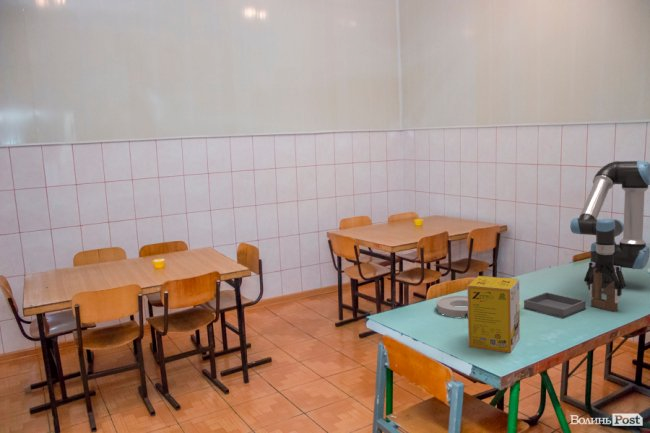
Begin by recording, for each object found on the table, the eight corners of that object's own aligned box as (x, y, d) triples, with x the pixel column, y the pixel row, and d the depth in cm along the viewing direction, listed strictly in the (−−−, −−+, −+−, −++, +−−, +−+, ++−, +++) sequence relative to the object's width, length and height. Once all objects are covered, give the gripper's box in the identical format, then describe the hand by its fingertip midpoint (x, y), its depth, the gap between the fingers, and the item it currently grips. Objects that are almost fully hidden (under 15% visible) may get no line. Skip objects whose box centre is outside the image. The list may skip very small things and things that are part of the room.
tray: (546, 300, 270) (546, 292, 269) (585, 309, 254) (585, 300, 253) (524, 308, 260) (524, 300, 259) (563, 318, 244) (563, 309, 243)
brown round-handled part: (613, 311, 248) (614, 273, 246) (590, 306, 257) (591, 269, 255) (617, 309, 250) (618, 271, 248) (595, 304, 259) (595, 267, 257)
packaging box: (479, 333, 232) (478, 275, 229) (519, 338, 224) (519, 278, 220) (468, 346, 218) (467, 285, 215) (510, 353, 210) (510, 289, 206)
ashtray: (472, 322, 247) (471, 313, 246) (427, 313, 262) (427, 305, 262) (495, 308, 263) (495, 300, 263) (452, 300, 279) (451, 293, 278)
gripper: (576, 250, 257) (575, 296, 260) (627, 258, 238) (626, 307, 242) (584, 248, 262) (584, 293, 265) (635, 255, 243) (634, 303, 246)
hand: (604, 299), depth 253 cm, fingers closed on brown round-handled part, 11 cm apart
